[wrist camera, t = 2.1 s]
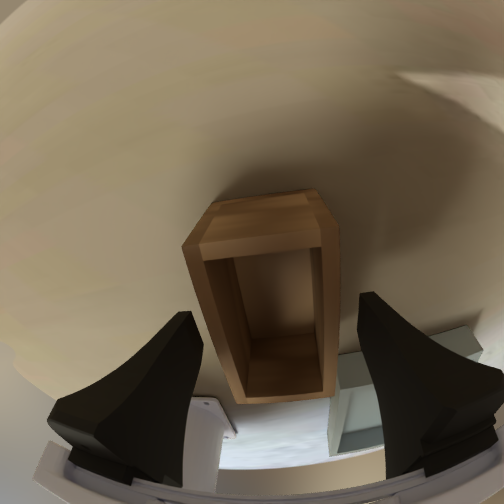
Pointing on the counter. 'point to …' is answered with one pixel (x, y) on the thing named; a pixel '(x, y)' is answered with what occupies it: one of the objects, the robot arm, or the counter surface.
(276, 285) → the walnut crate
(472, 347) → the grey crate
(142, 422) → the robot arm
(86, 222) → the counter surface
